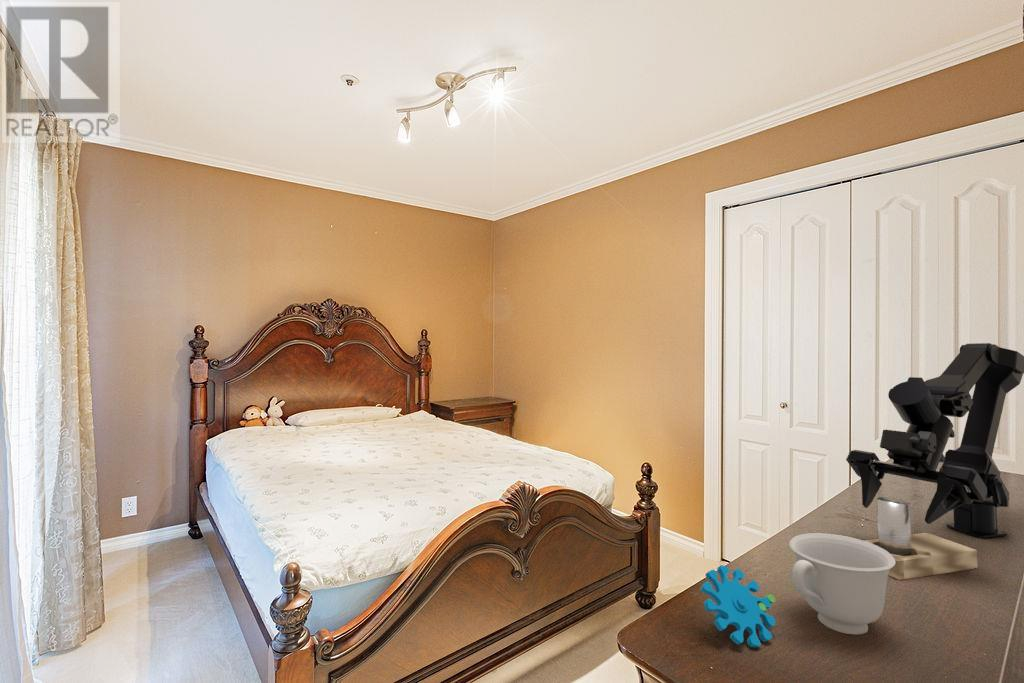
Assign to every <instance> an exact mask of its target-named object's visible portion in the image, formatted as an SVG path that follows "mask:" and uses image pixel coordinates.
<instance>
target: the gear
mask: <svg viewBox="0 0 1024 683" xmlns="http://www.w3.org/2000/svg"><path fill="white" fill-rule="evenodd" d="M716 569H717V570H715V569H711V570H709V571H708V572H706V573H705V577H706V579H707V580H709V581H705V582H703V584H702V585H701V587H700V591H701V592H702V593H703V594H706V595H707V596H710V597H711V598H712V599H713V600H714V601H715V602H714V601H713V600H712V599H711V598H707V599H706V600H705V601H704V602H703V603H704V610H705V611H706V612H709V613H711V612H715V614H714V618H716V619H715V620H714V621H713V622H714V625H715V627H716V628H717V630H718V631H720V632H722V631H723V630H725V629H726V628H728V626H729V625H733V626H734V627H735V628H736V630H735V631H733V632H732V633H730V636H729V638H730V639H731V641H733V642H734V643H735V644H736V645H741V644H742V643H744V639H745V638H744V631H745V630H746V631H747V632H748V634H749V636H748V637H747V640H746V643H747V645H748V646H749V647H751V648H754V649H755V648H759V647H761V645H762V644H761V641H762V643H765V642H768V641H769V640H771V639H773V633H772V632H770V630H769V629H771V628H772V627H774V626H775V624H776V618H775V617H774V616H772V615H770V614H768V613H766V612H767V610H768V609H770V608H771V605H772V604H773V603H775V602H776V598H775V596H774V595H773V594H771V593H770V594H767V595H766V596H764V597H758V596H756V595H754V594H752V593H757V592H758V591H759V590H760V586H759V583H757V581H756V580H755V579H754V580H753V579H752V580H751V581H749V582H748V583H747V585H742V584H741V583H740V581H741V580H742V579H744V578H745V573H744V572H743V571H742V570H741V569H739V568H737V567H736V569H734V570H733V571H732V580H729V578H728V574H729V573H730V568H729V567H728V566H726V565H719V566H718V567H717V568H716ZM718 575H719V577H720V581H721V582H719V580H718ZM710 582H711V583H710ZM712 585H713V586H712ZM713 587H714V589H715V590H714V589H713ZM751 592H752V593H751ZM716 603H717V604H716ZM761 619H762V620H761ZM762 621H763V622H762ZM756 628H757V629H758V635H759V636H758V635H757V631H756ZM767 628H768V629H767ZM759 638H760V639H759ZM760 640H761V641H760Z"/></svg>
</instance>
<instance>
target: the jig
mask: <svg viewBox="0 0 1024 683" xmlns="http://www.w3.org/2000/svg"><path fill="white" fill-rule="evenodd" d="M863 541H866V542H869V543H872V544H874V545H877V546H879V539H878V538H874V539H866V540H865V539H864V540H863ZM911 545H912V555H911V556H904V557H903V556H901V555H895V554H891V555H892V556H893V557H894V559H895V565H894V566H893V567H892V568H890V570H889V572H888V577H891V578H894V579H896V580H897V581H900V580H907V579H915V578H921V577H927V576H935V575H939V574H941V575H942V574H947V573H956V572H961V571H968V570H976V569H978V567H979V566H978V550H977V549H975V548H972V547H969V546H967V545H964V544H960V543H958V542H955V541H952V540H950V539H946V538H943V537H940V536H938V535H935V534H933V533H929V532H922V533H921V532H919V533H913V534H912V533H911ZM975 568H976V569H975Z"/></svg>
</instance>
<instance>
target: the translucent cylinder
mask: <svg viewBox="0 0 1024 683" xmlns="http://www.w3.org/2000/svg"><path fill="white" fill-rule="evenodd" d="M876 509H877V532H878V533H877V535H878V537H877V539H879V547H881V548H883V549H884V550H886V551H887V552H889V553H890V554H895V555H901V556H903V557H904V556H911V555H912V545H911V534H912V526H911V525H912V524H911V502H909V501H908V500H905V499H902V498H896V497H890V496H879V497H877V498H876Z"/></svg>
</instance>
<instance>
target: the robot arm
mask: <svg viewBox="0 0 1024 683" xmlns="http://www.w3.org/2000/svg"><path fill="white" fill-rule="evenodd" d="M958 352H959V353H958V354H957V355H956V356H955V358H954V359H953V360H952V361H951V363H949V365H948V366H947V367H946V369H945V370H944V371H943V372H942V373H941V374H940V375H939V376H936V377H934V378H929V379H926V380H924V379H923V377H920V376H919V377H914V376H913V377H911V376H910V377H908V378H907V381H904V382H901V383H898V384H897V385H895V386H893V387H892V388H890V389H889V391H888V398H889V401H890V402H891V403H892V405H893V406H894V408H895V410H896V411H897V413H898V415H899V416H900V418H901V419H902V421H904V422H905V423H907V424H909V426H908V428H907V429H906V431H903V430H901V431H900V430H893V429H883V430H882V432H881V433H882V434H881V438H880V444H879V448H880V449H884V450H886V451H887V457H888V458H889V459H890V460H893V462H888V461H882V460H880V459H879V457H878V456H877V454H876V453H875V452H870V451H865V450H859V449H852V450H850V451H849V452H848V454H847V457H846V459H845V460H846V462H847V463H848V464H849V466H850V468H852V470H853V472H854V473H855V474H856V475H857V477H860V480H861V481H860V482H861V502H862V504H861V505H862V506H863V507H864V508H865V509H868V508H869V507H870V505H871V504H872V502H873V501H874V500H875V497H876V496H877V493H878V492H879V490H880V489H881V486H882V484H883V483H882V481H881V480H883V479H884V477H885V475H887V474H888V475H892V476H899V477H903V478H908V479H912V480H918V481H923V482H927V483H933V484H937V485H936V491H935V492H934V495H933V497H932V500H931V502H930V504H929V505H928V508H927V510H926V512H925V516H924V517H925V518H924V521H925V523H926V524H929V525H931V524H932V523H934V522H935V521H937V520H938V519H940V518H941V517H943V516H944V515H946V514H947V513H949V512H951V511H952V510H953V512H952V513H953V523H946V525H945V526H946V527H947V528H948V529H952V530H955V531H958V532H961V533H964V534H967V535H970V536H974V537H977V538H980V539H987V538H994V537H1002V536H1003V537H1004V536H1007V535H1008V532H1007V531H1004V530H1001V529H999V528H998V511H997V509H999V508H1001V507H1003V508H1008V507H1009V506H1010V505H1009V504H1010V503H1009V502H1010V492H1009V490H1008V489H1007V487H1006V486H1007V485H1005V483H1004V481H1003V479H1002V478H1001V471H1000V470H999V468H998V466H997V465H996V463H995V461H994V460H993V454H994V448H995V443H996V439H997V435H998V431H999V428H1000V427H999V426H1000V423H1001V422H1000V421H1001V417H1002V414H1003V409H1004V406H1005V405H1004V404H1005V400H1006V396H1007V394H1008V393H1009V392H1011V391H1012V390H1014V389H1015V388H1017V387H1018V386H1019V385H1020V384H1021V381H1022V378H1023V376H1024V355H1023V354H1022V353H1020V352H1019V351H1017V350H1013V349H1008V348H1004V347H1000V346H999V345H997V344H995V343H994V344H993V343H991V342H990V343H989V342H982V343H977V342H976V343H975V342H974V343H965V344H962V345H961V346H960V347H959V351H958ZM972 388H973V393H972V395H971V394H970V391H971V390H972ZM967 413H968V414H967ZM966 414H967V417H966V421H965V425H964V428H963V429H964V430H963V434H962V438H961V443H960V445H959V447H957V448H956V449H948V450H947V451H946V452H945V453H944V451H945V448H946V447H947V446H946V445H947V443H948V440H949V438H952V439H953V438H955V436H956V434H955V431H954V429H953V428H954V424H953V422H952V420H951V419H950V418H949V417H951V418H953V417H954V418H963V417H964V416H966ZM944 454H945V455H944ZM940 463H942V465H941V466H940V468H939V471H937V468H938V466H939V464H940Z"/></svg>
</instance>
